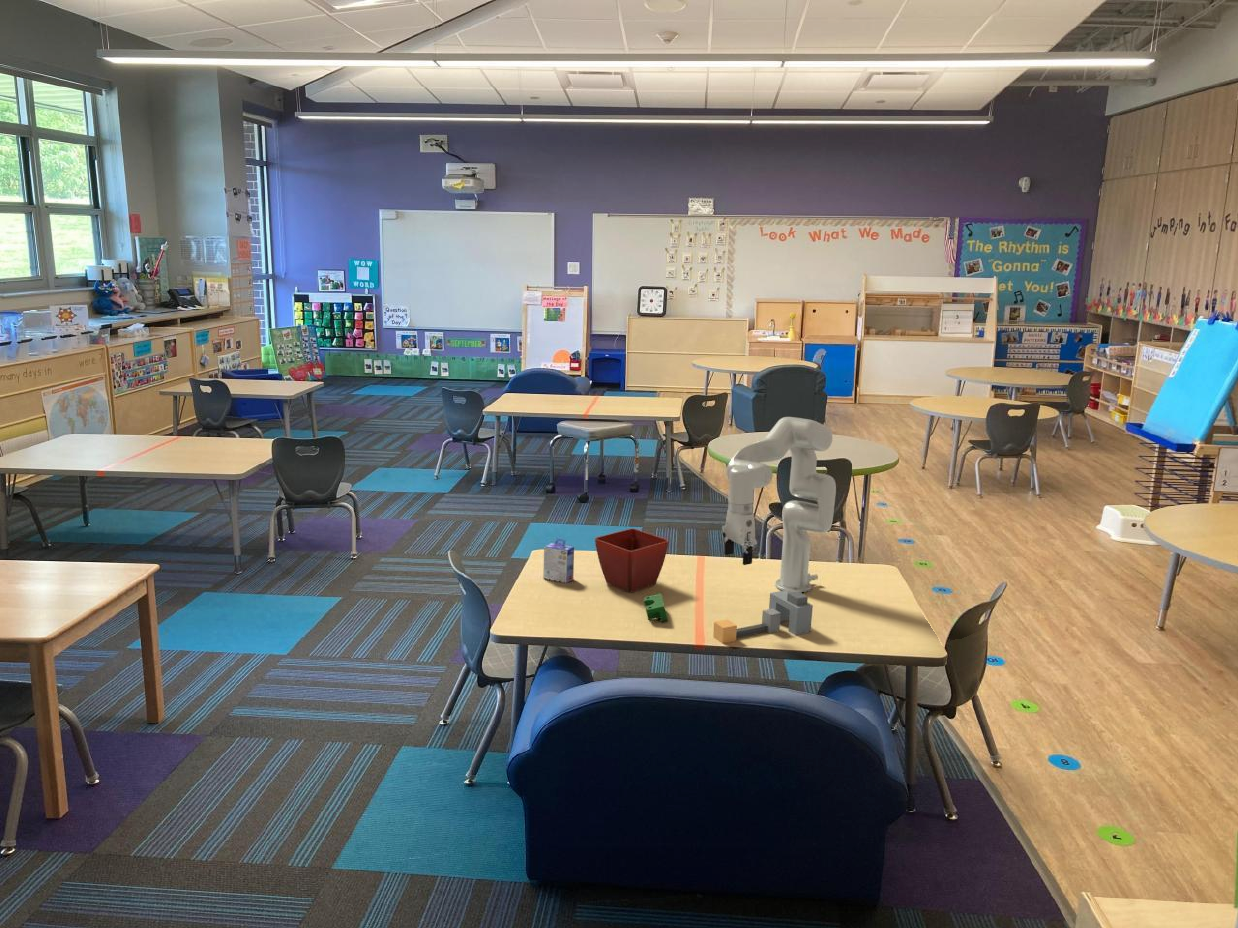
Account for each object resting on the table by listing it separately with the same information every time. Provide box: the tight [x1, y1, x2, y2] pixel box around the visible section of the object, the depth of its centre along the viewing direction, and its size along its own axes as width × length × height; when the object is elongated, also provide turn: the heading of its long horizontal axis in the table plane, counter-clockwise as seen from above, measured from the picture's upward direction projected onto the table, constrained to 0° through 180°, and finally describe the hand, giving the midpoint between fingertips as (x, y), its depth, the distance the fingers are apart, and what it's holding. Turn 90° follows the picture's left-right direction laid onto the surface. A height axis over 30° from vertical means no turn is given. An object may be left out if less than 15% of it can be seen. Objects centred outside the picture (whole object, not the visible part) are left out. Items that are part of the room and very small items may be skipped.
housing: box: [768, 590, 813, 636], centre depth 297 cm, size 6×14×12 cm, turn 28°
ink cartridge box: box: [542, 538, 575, 584], centre depth 331 cm, size 10×6×14 cm, turn 65°
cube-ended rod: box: [712, 608, 781, 644], centre depth 290 cm, size 22×5×6 cm, turn 118°
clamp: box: [643, 593, 669, 623], centre depth 302 cm, size 12×6×9 cm, turn 177°
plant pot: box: [594, 528, 670, 593], centre depth 328 cm, size 19×19×17 cm
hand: (738, 559), depth 291 cm, fingers open, 9 cm apart
